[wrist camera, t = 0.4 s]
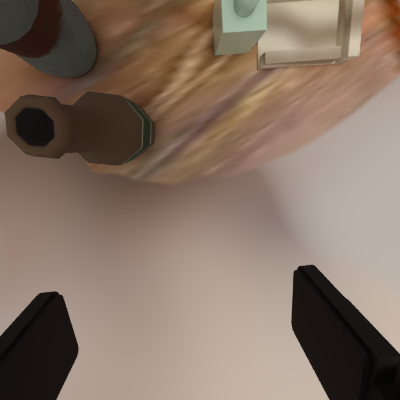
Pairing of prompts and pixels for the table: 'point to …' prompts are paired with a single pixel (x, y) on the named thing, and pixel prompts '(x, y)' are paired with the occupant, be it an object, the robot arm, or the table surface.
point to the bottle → (238, 25)
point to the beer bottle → (81, 127)
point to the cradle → (310, 33)
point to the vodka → (48, 36)
